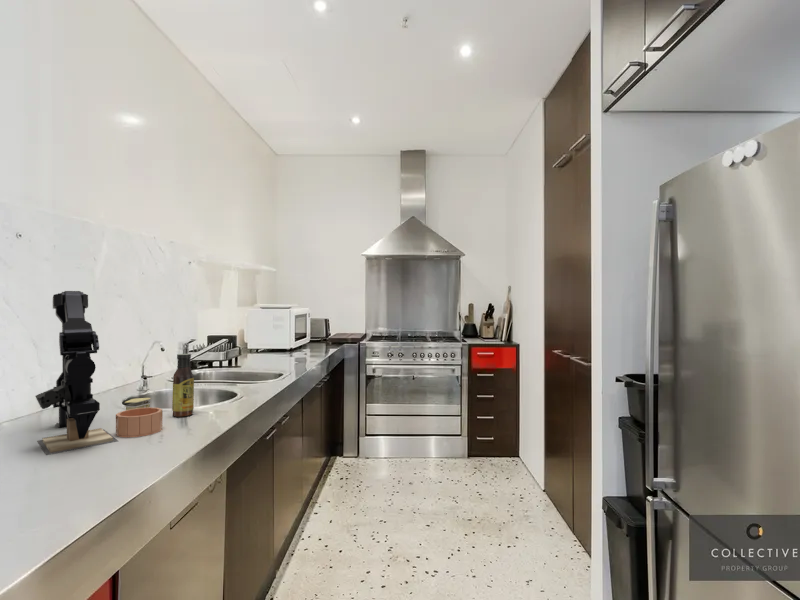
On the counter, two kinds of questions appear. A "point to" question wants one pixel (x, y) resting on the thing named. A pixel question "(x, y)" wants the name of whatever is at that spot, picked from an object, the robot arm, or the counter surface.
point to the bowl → (138, 422)
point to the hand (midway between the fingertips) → (77, 434)
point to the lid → (75, 438)
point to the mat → (73, 448)
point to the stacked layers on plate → (138, 403)
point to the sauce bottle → (183, 387)
